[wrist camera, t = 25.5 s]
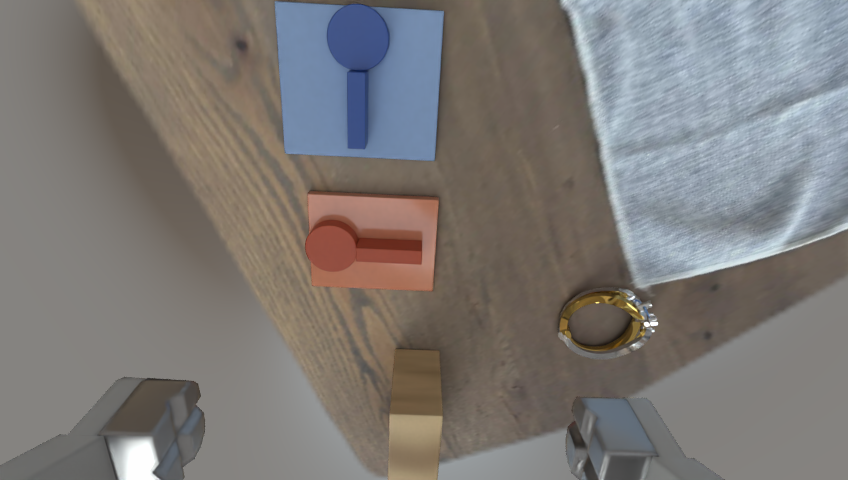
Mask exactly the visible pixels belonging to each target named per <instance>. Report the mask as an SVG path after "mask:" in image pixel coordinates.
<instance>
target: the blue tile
mask: <svg viewBox="0 0 848 480" xmlns="http://www.w3.org/2000/svg"><path fill="white" fill-rule="evenodd" d="M344 6H346V5H334V4H316V3H299V2H281V1H275V14H276V29H277V43H278V58H279V73H280V88H281V103H282V117H283V132H284V147H285V153H286V154H304V155H324V156H344V157H364V158H385V159H405V160H425V161H434V160H435V149H436V133H437V117H438V101H439V85H440V68H441V52H442V36H443V20H444V11H438V10H421V9H403V8H386V7H371V8H373V9H374V10H376V11H377V12H378V13H379V14H380V15H381V16H382V17H383V19H384V20H385V22H386V24H387V26H388V29H389V34H390V45H389V49H388V52H387V54H386V56H385V57H384V59H383V60H382V61H381V62H380V63H379V64H378V65H377V66H375V67H374V68H372V69H369V70H368V71H369V87H368V144H367V146H366V148H365V149H348V129H347V72H348V71H350V69H347V68H345V67H344V66H342V65H341V64H339V63H338V62H337V61H336V59H335V58H334V57H333V55H332V54H331V52H330V50H329V47H328V43H327V28H328V25H329V22H330V20H331V18H332V16H333V15H334V14H335V13H336V12H337V11H338V10H339V9H340V8H342V7H344Z"/></svg>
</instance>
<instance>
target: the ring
mask: <svg viewBox="0 0 848 480" xmlns="http://www.w3.org/2000/svg"><path fill="white" fill-rule="evenodd" d="M627 299H628V300H627ZM629 300H630V301H629ZM631 301H632V302H633V303H635V304H636V305H637V307H636V306H635V305H634V304H633V303H632V302H631ZM593 303H606V304H611V305H615V306H617V307H620V308H622V309H623V310H625V311H627V312H628V313H629V314H630V315H631V316H633V318H632V320H631V323H630V325H629V327H628V328H627V330H626V331H625V332H624V334H623V335H622V336H621V337H620V338H618V339H617V340H616V341H614V342H612V343H610V344H608V345H604V346H599V347H590V346H585V345H582V344H580V343H578V342H576V341H575V340H574V339H573V338H572V337H571V332H570V327H569V326H568V325H567V324H568V320H569V318H570V316H571V315H572V314H573V313H574V312H575V311H576V310H577V309H579V308H581V307H583V306H585V305H588V304H593ZM651 307H652V305H651V303H650V301H647V302H644V303H642V302H641V300H640V299H639V297H638V296H637V295H636V294H635V293H633V292H632V291H630V290H627V289H623V288H614V287H605V288H595V289H591V290H588V291H585V292H583V293H580V294H579V295H577V296H575V297H574V298H573V299H571V300H570V301H569V302H568V303H567V304H566V305H565V307H564V308H563V310H562V312H561V314H560V318H559V327H558V328H557V330H558V336H559V338H560V339H561V340H563V341H564V343H565V344H566V345H567V347H568V348H570V349H571V350H572V351H573V352H575V353H577V354H579V355H581V356H584V357H587V358H592V359H612V358H616V357H620V356H623V355H626V354H628V353H630V352H633V351H635V350H637V349H638V348H640V347H641V346H643V345H644V344H645V343H646V342H647V341H648V339H649V338H650V336H651V334H652V332H654V328H652V327H651V326H657V325H658V322H657V321H656V320H657V317H656V316H653V313H648V310H647V308H651ZM649 316H652V317H649ZM640 325H641V327H640ZM639 328H640V332H641V333H640V334H639V335H638V336H637V337H636V338H635V339H634V337H635V336H636V334H637V332H638V330H639Z"/></svg>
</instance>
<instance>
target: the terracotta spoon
mask: <svg viewBox="0 0 848 480" xmlns="http://www.w3.org/2000/svg"><path fill="white" fill-rule="evenodd" d="M305 250H306V254H307V256H308V258H309V260H310V261H311V262H312V263H313V264H314V265H315V266H316V267H318V268H319V269H321V270H324V271H328V272H338V271H342V270H344V269H346V268H348V267H349V266H350V265H351V264H352V263H353V262H354V260H355V258H356V262H373V263H394V264H416V265H421V264H422V241H418V240H397V239H376V238H359V240H358V237H357V235H356V233H355V231H354V230H353V229H352V228H351V227H350V226H349V225H347V224H346V223H344V222H341V221H338V220H326V221H322V222H320V223H318V224H317V225H315V226H314V227H313V229H312V230H311V232H310V233H309V235H308V237H307V239H306V243H305Z"/></svg>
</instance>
